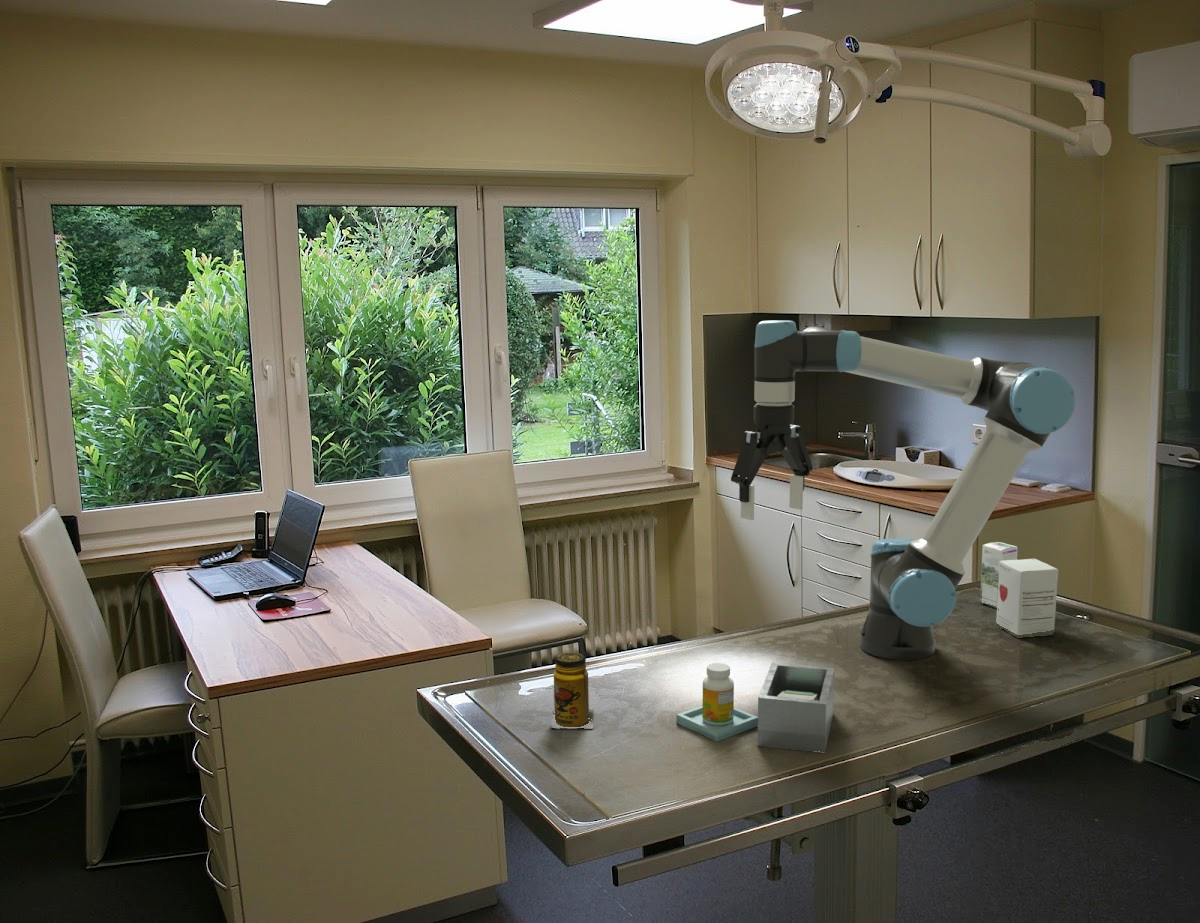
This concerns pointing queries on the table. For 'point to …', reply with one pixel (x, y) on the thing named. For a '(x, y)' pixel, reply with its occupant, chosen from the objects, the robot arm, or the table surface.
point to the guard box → (796, 708)
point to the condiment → (572, 691)
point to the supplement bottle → (718, 695)
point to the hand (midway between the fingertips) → (772, 513)
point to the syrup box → (993, 569)
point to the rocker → (798, 695)
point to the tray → (739, 724)
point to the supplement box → (1026, 596)
